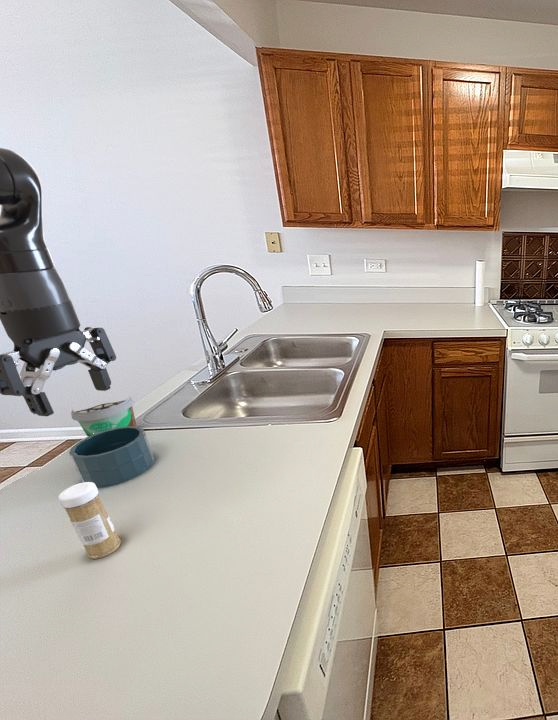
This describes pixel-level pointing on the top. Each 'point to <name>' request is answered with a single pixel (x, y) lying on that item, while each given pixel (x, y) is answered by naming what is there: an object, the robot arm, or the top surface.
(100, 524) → the sprinkles bottle
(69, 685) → the top surface
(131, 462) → the pot
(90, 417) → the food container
